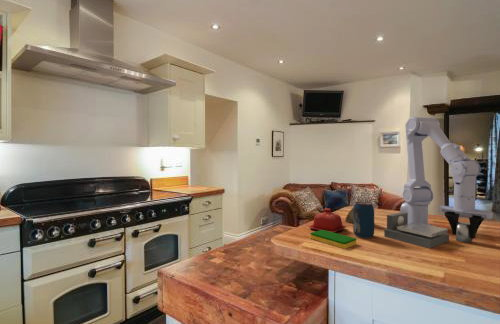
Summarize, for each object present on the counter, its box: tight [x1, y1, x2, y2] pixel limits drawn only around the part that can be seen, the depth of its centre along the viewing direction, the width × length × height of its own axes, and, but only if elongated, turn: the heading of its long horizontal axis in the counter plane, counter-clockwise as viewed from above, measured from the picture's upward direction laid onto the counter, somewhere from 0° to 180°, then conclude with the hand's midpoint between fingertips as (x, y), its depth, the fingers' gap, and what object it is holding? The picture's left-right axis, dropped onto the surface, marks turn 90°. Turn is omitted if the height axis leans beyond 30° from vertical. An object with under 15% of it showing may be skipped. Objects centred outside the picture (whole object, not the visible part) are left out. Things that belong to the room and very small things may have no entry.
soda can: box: [352, 201, 375, 239], centre depth 100 cm, size 7×7×12 cm
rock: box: [345, 200, 375, 225], centre depth 120 cm, size 11×9×10 cm
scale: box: [383, 212, 450, 249], centre depth 97 cm, size 15×13×8 cm
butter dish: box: [308, 207, 347, 233], centre depth 109 cm, size 12×12×8 cm
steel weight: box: [455, 221, 473, 244], centre depth 94 cm, size 4×4×6 cm
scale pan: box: [397, 222, 449, 237], centre depth 95 cm, size 12×11×1 cm
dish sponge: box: [309, 230, 357, 250], centre depth 95 cm, size 7×14×2 cm, turn 37°
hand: (463, 236), depth 94 cm, fingers closed on steel weight, 4 cm apart
